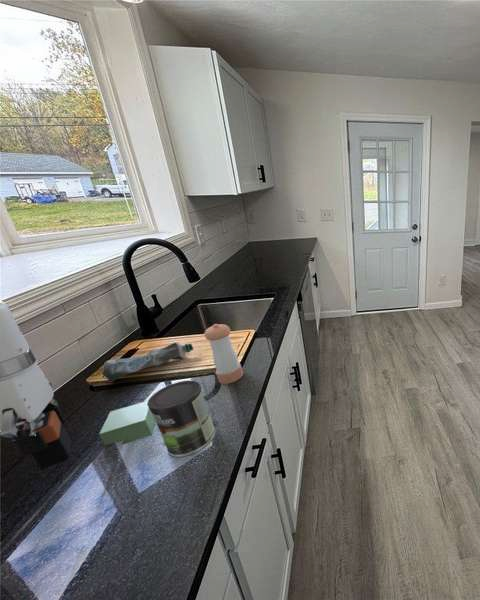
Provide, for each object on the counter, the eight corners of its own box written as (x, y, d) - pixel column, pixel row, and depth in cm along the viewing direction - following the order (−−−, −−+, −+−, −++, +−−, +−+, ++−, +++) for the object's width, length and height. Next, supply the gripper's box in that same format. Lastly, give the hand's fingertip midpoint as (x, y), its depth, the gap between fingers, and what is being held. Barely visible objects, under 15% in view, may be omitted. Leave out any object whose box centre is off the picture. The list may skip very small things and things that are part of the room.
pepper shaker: (228, 370, 106) (212, 319, 99) (247, 371, 105) (233, 319, 98) (213, 383, 99) (195, 329, 92) (234, 384, 98) (217, 330, 91)
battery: (40, 471, 63) (16, 433, 60) (44, 452, 68) (22, 415, 64) (70, 459, 66) (49, 422, 62) (72, 441, 71) (52, 405, 67)
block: (107, 450, 76) (98, 434, 74) (117, 426, 83) (110, 411, 82) (152, 435, 80) (145, 419, 78) (158, 413, 87) (152, 399, 85)
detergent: (104, 390, 99) (195, 362, 110) (94, 370, 96) (188, 344, 108) (113, 373, 110) (195, 349, 121) (105, 355, 107) (189, 332, 119)
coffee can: (188, 462, 71) (168, 413, 66) (157, 451, 75) (136, 403, 69) (225, 429, 80) (210, 384, 75) (196, 421, 84) (180, 377, 78)
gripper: (3, 349, 64) (41, 417, 71) (-60, 397, 50) (-5, 477, 56) (52, 340, 67) (85, 406, 74) (6, 383, 53) (52, 460, 60)
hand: (46, 436), depth 65 cm, fingers closed on battery, 7 cm apart
